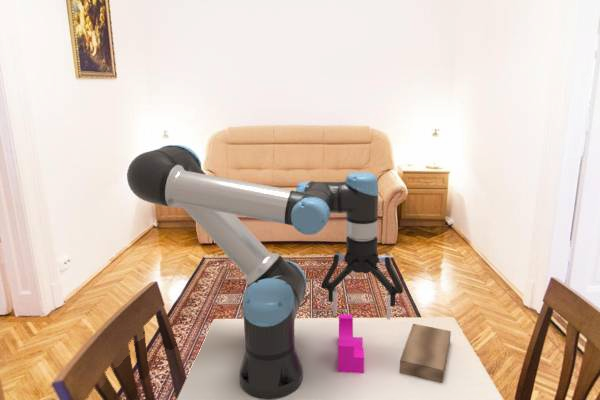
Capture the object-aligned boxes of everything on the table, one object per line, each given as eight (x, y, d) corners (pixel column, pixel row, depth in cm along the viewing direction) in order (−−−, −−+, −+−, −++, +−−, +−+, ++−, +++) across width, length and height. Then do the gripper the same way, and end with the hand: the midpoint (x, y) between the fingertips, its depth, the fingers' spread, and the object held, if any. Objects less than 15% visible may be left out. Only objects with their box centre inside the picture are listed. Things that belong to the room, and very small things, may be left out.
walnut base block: (399, 374, 107) (400, 360, 106) (412, 336, 123) (413, 323, 122) (442, 384, 103) (443, 370, 102) (449, 344, 119) (450, 331, 118)
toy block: (363, 373, 107) (364, 346, 105) (338, 372, 108) (338, 345, 106) (361, 339, 122) (361, 315, 120) (338, 338, 122) (338, 314, 120)
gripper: (414, 233, 108) (411, 311, 113) (314, 229, 113) (316, 304, 118) (415, 243, 101) (412, 326, 106) (308, 239, 106) (310, 318, 111)
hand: (361, 314), depth 112 cm, fingers open, 13 cm apart
